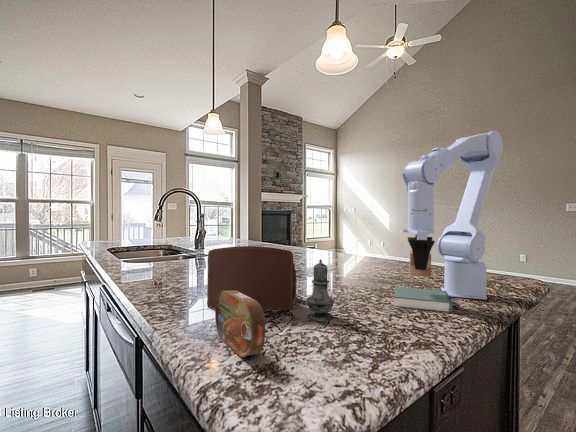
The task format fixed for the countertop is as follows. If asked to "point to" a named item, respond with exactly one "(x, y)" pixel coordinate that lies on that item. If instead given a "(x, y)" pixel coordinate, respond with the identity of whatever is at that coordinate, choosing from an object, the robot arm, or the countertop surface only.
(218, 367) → the countertop surface
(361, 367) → the countertop surface
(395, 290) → the book
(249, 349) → the tin
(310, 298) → the salt shaker
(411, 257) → the block
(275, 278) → the letter holder
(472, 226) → the robot arm
